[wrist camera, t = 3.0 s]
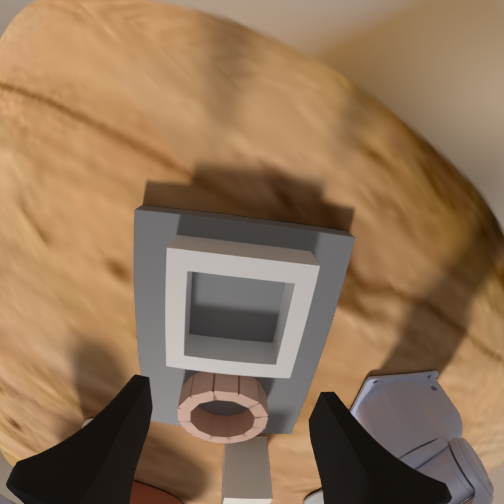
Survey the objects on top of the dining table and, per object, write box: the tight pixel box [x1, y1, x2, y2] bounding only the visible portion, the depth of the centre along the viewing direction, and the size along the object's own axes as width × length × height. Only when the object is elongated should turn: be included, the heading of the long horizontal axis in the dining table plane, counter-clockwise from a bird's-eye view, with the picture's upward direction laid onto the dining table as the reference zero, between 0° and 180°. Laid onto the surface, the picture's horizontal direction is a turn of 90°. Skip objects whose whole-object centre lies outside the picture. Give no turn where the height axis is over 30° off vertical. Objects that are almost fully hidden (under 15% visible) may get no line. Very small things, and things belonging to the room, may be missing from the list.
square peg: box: [221, 436, 273, 504], centre depth 24 cm, size 4×4×8 cm
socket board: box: [134, 205, 355, 444], centre depth 20 cm, size 14×20×4 cm
